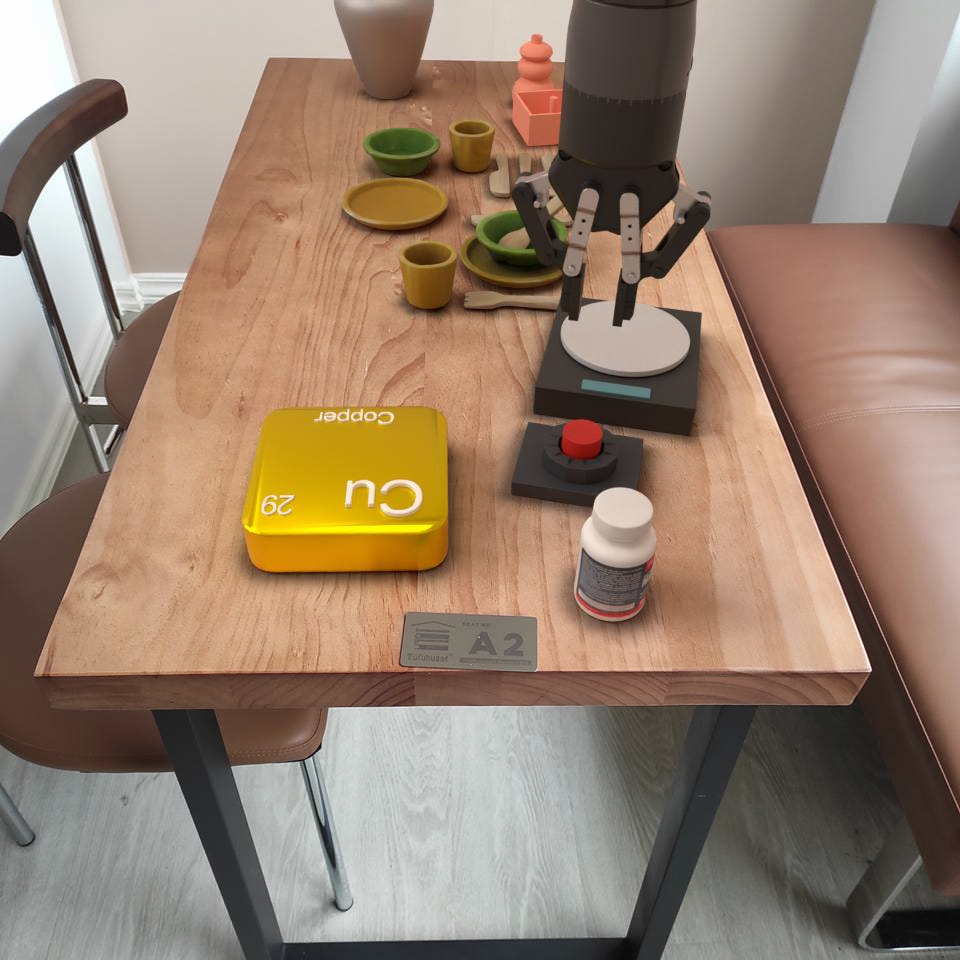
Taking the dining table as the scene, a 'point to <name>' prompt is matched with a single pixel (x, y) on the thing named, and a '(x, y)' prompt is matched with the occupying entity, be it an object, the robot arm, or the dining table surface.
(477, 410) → the dining table surface
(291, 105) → the dining table surface
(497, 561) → the dining table surface
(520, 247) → the tableware set
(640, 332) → the scale
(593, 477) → the block
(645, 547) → the pill bottle
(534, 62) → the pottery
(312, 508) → the element tile
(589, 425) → the button
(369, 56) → the vase
